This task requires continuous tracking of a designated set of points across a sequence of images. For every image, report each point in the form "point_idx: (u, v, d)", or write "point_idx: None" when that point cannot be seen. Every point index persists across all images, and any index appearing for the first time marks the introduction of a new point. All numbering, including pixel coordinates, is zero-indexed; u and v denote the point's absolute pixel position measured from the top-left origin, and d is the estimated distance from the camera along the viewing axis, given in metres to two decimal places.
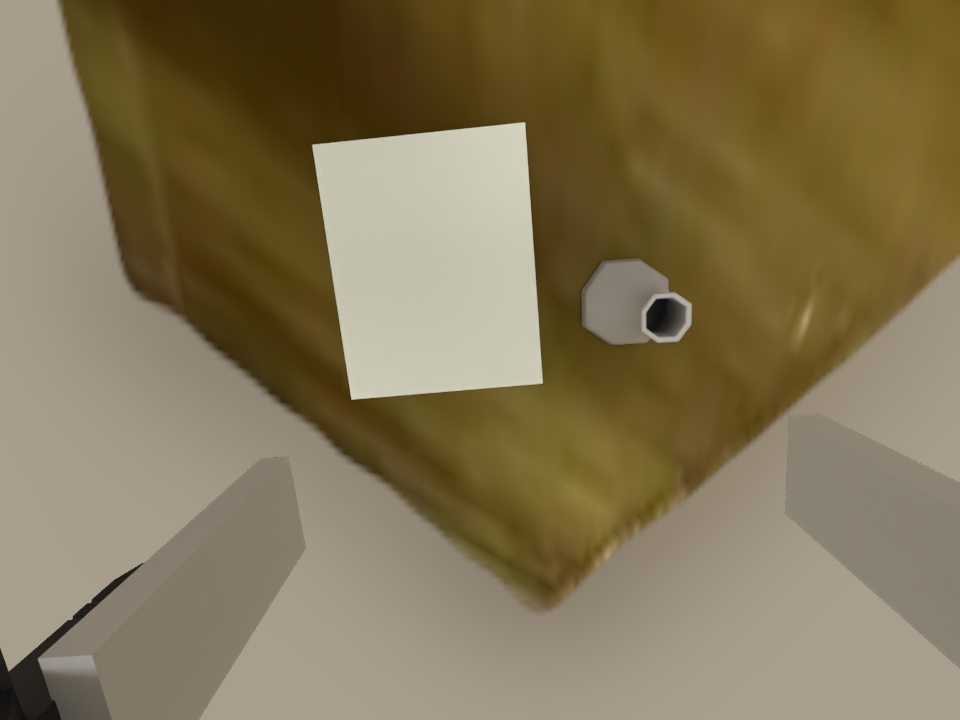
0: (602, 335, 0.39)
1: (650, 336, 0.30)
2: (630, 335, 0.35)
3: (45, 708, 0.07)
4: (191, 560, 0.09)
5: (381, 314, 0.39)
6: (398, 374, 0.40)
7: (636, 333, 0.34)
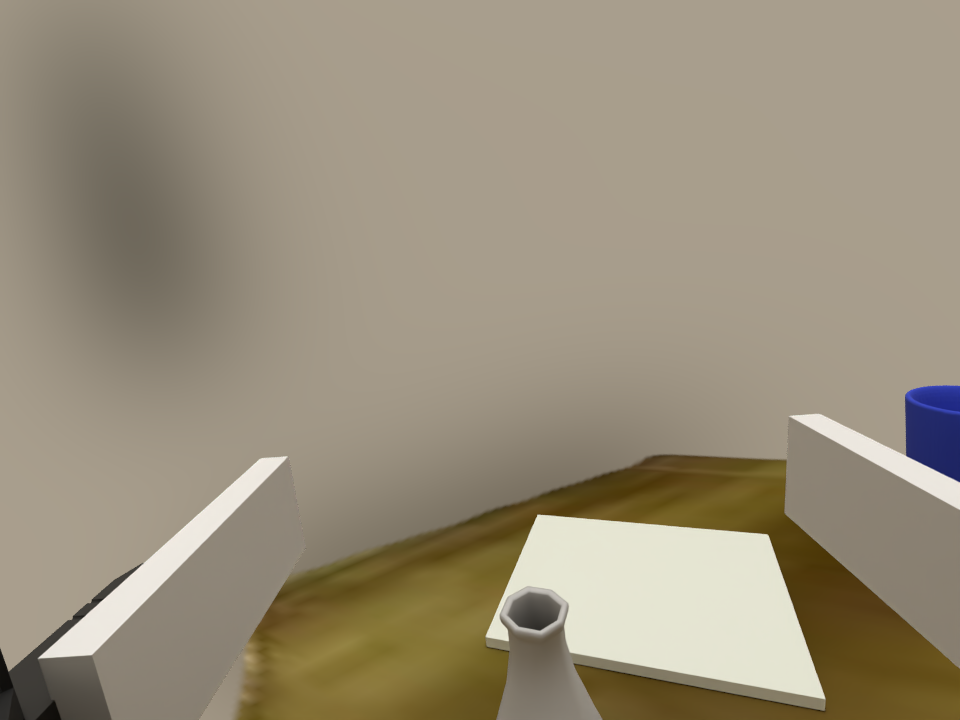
0: None
1: (518, 591, 0.25)
2: None
3: (45, 708, 0.07)
4: (191, 560, 0.09)
5: (604, 542, 0.43)
6: (546, 541, 0.44)
7: None
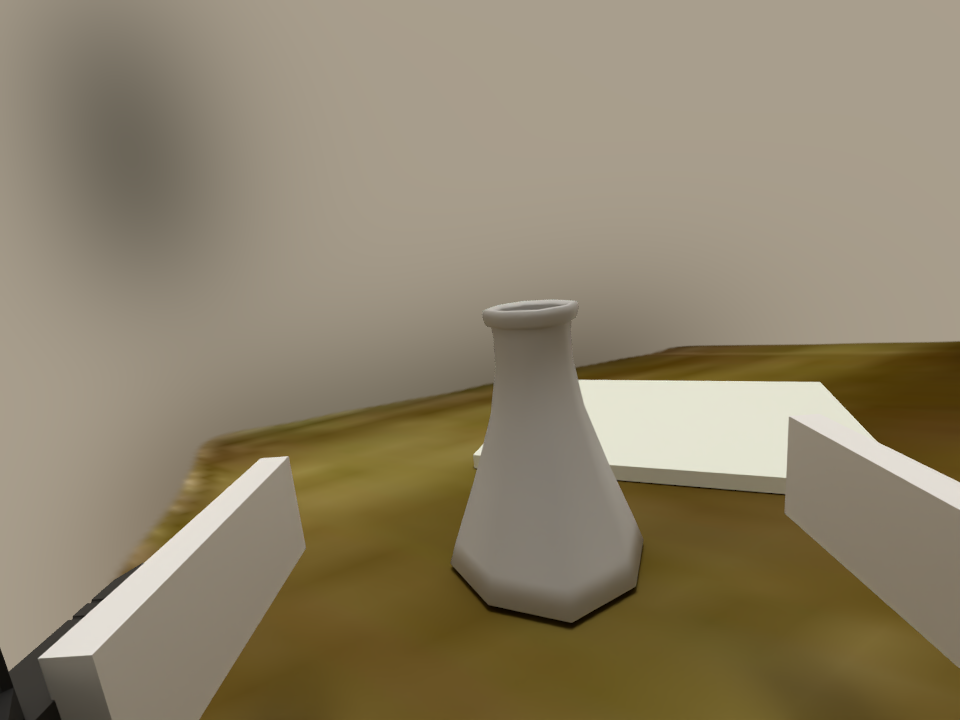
0: None
1: (510, 303, 0.19)
2: None
3: (45, 708, 0.07)
4: (191, 560, 0.09)
5: (621, 392, 0.36)
6: None
7: None
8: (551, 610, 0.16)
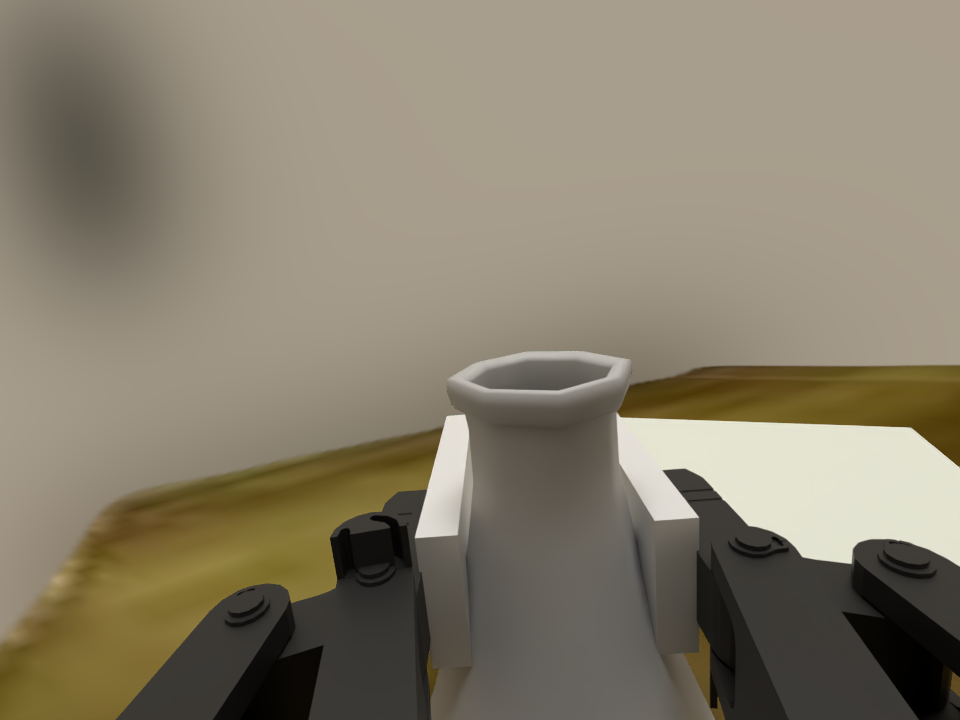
0: None
1: (501, 357, 0.10)
2: None
3: (417, 577, 0.09)
4: (464, 482, 0.11)
5: (649, 439, 0.28)
6: None
7: None
8: None
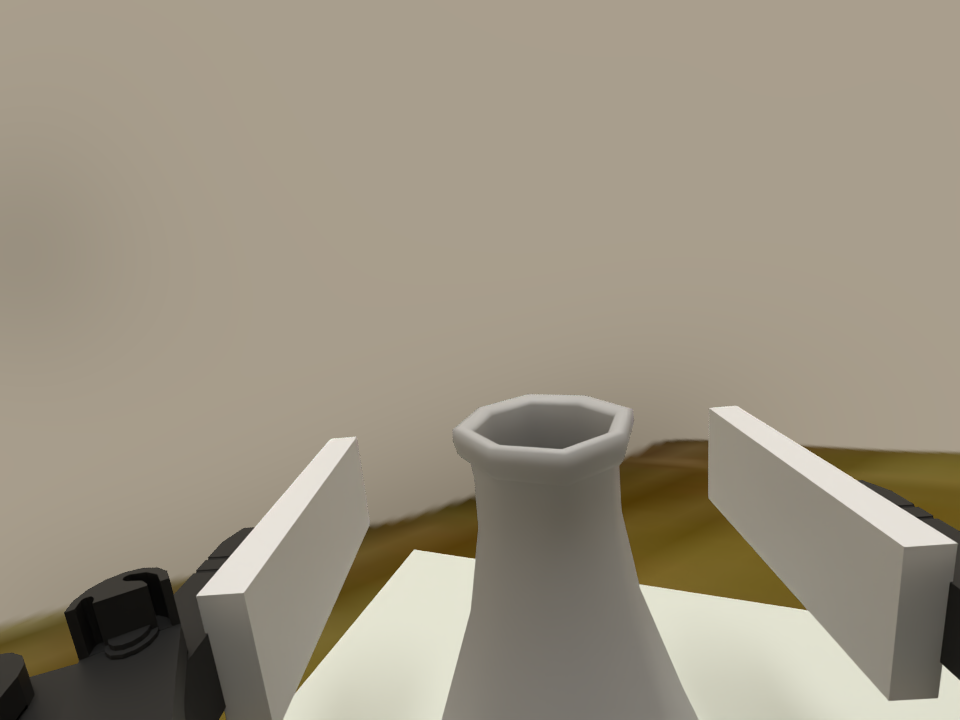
0: None
1: (505, 400, 0.10)
2: None
3: (201, 640, 0.08)
4: (298, 521, 0.10)
5: None
6: (402, 622, 0.18)
7: None
8: None
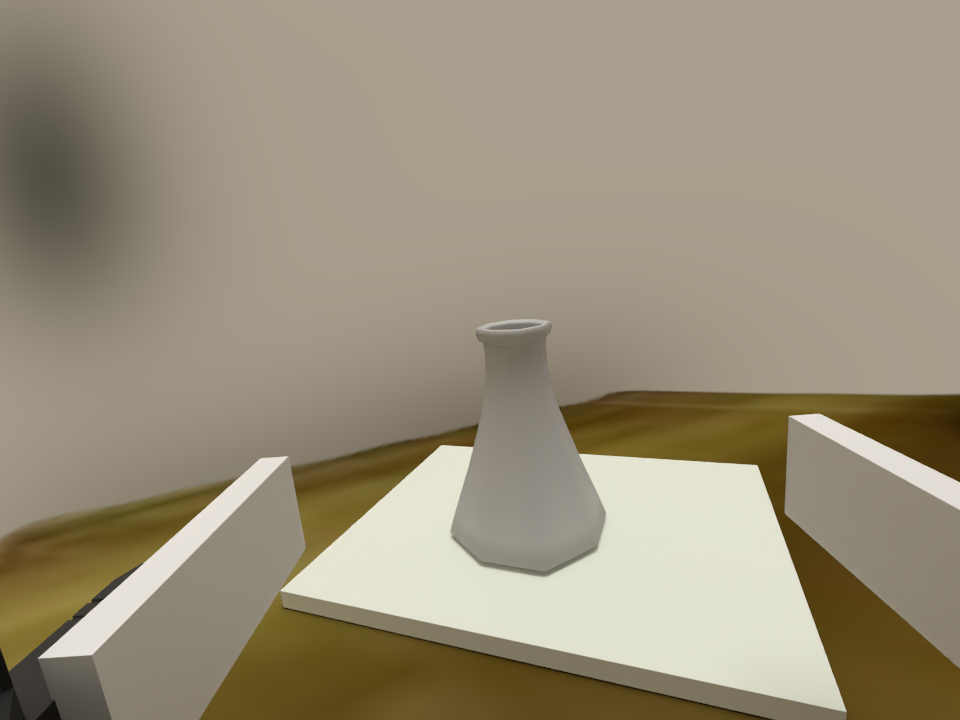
0: None
1: (497, 322, 0.23)
2: None
3: (45, 708, 0.07)
4: (191, 560, 0.09)
5: None
6: (438, 472, 0.31)
7: None
8: (529, 562, 0.20)
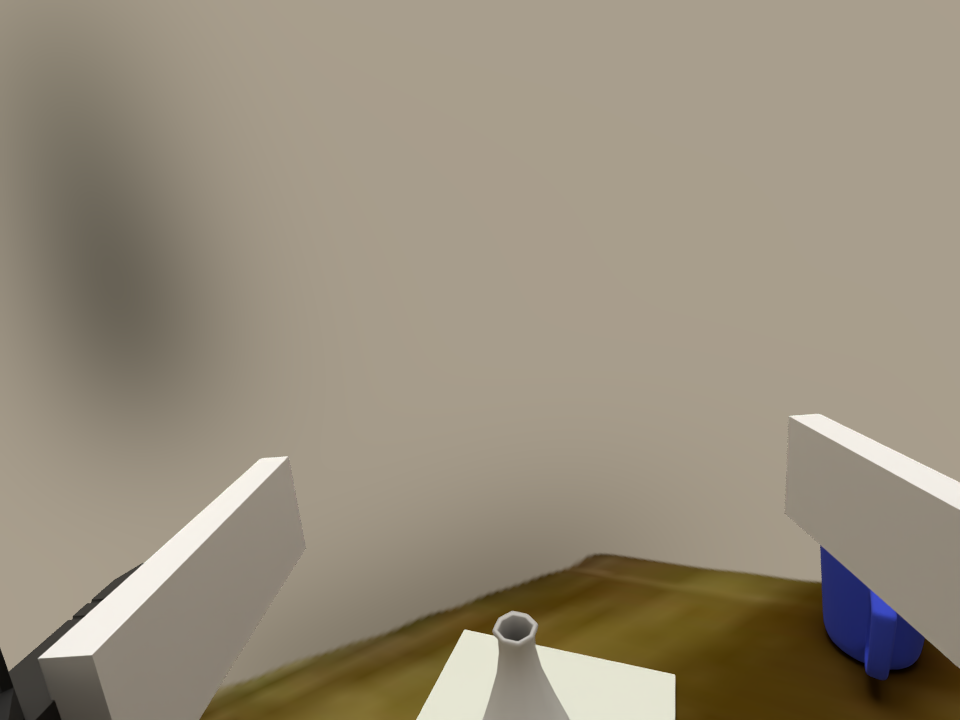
0: None
1: (505, 614, 0.38)
2: None
3: (45, 708, 0.07)
4: (191, 560, 0.09)
5: None
6: (464, 666, 0.46)
7: None
8: None
